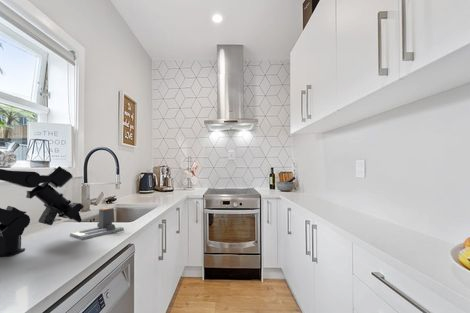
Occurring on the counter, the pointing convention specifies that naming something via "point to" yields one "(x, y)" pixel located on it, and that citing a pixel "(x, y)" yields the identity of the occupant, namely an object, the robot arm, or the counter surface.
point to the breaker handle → (105, 217)
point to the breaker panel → (96, 231)
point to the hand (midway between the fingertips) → (80, 221)
